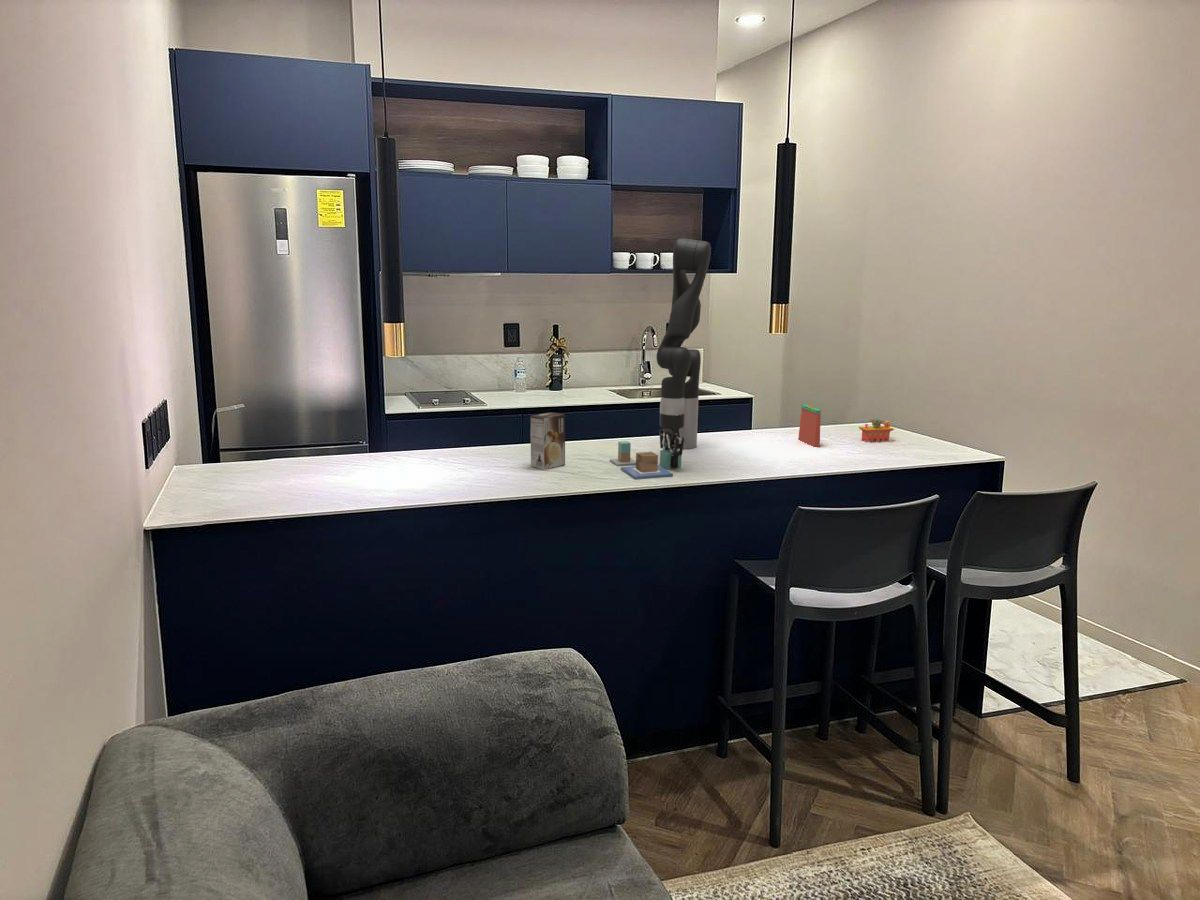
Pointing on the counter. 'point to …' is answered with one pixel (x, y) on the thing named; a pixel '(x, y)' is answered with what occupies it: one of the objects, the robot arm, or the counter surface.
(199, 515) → the counter surface
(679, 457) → the teal cube
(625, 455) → the stacked block model
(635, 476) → the board
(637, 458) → the walnut cube
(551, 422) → the coffee box
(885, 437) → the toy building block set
